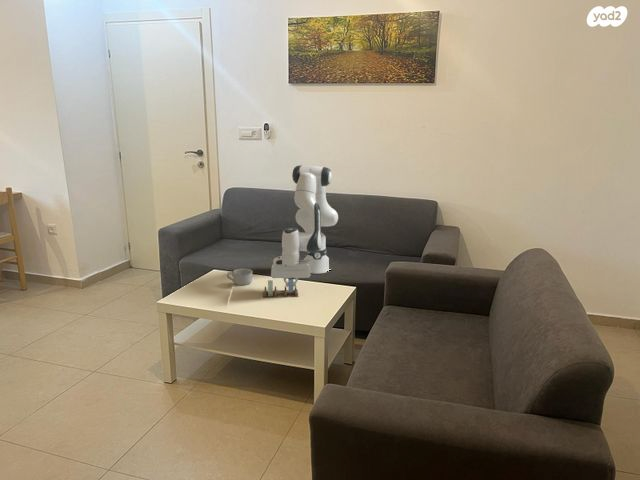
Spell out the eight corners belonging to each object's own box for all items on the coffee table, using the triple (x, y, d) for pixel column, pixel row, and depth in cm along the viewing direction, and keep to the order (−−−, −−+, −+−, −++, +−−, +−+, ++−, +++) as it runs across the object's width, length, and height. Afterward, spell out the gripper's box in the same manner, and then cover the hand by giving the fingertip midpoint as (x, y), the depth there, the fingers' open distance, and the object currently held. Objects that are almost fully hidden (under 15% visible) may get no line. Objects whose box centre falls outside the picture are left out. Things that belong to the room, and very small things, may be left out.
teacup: (254, 282, 264) (254, 268, 262) (250, 288, 253) (249, 274, 252) (230, 281, 265) (230, 268, 264) (225, 287, 255) (224, 273, 253)
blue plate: (288, 288, 243) (288, 276, 242) (292, 288, 244) (292, 276, 242) (288, 292, 238) (288, 279, 237) (293, 291, 238) (293, 279, 237)
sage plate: (268, 292, 243) (268, 280, 242) (272, 292, 243) (272, 280, 242) (268, 295, 238) (267, 283, 236) (272, 295, 238) (272, 283, 236)
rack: (263, 292, 246) (263, 286, 245) (297, 291, 248) (297, 285, 247) (262, 299, 234) (262, 293, 234) (298, 299, 236) (298, 292, 235)
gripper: (310, 258, 242) (310, 283, 245) (270, 258, 240) (271, 284, 243) (311, 260, 236) (311, 287, 238) (270, 261, 234) (271, 288, 236)
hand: (290, 285), depth 241 cm, fingers closed on blue plate, 2 cm apart
